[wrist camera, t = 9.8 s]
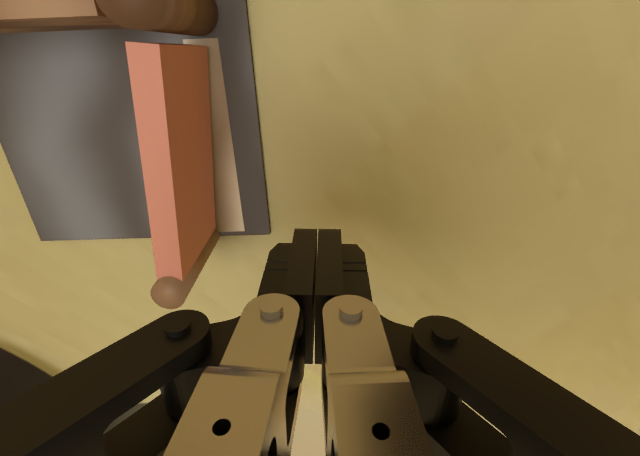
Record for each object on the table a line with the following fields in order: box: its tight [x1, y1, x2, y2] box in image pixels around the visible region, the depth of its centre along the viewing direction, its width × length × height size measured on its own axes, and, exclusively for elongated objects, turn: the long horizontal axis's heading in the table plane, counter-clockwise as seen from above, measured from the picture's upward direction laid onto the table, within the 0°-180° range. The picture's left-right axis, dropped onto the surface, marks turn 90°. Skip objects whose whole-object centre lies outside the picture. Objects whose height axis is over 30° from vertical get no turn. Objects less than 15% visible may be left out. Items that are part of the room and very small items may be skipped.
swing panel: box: [125, 41, 219, 309], centre depth 18 cm, size 12×2×6 cm, turn 175°
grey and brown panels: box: [0, 0, 271, 241], centre depth 17 cm, size 16×15×8 cm
